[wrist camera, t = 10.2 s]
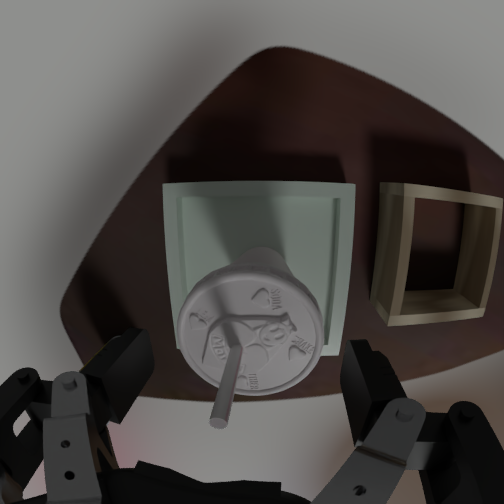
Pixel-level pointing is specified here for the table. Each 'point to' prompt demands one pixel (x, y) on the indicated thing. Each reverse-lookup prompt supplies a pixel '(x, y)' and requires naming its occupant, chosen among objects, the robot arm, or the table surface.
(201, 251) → the tray
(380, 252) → the holder
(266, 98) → the table surface
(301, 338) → the smoothie
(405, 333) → the table surface
